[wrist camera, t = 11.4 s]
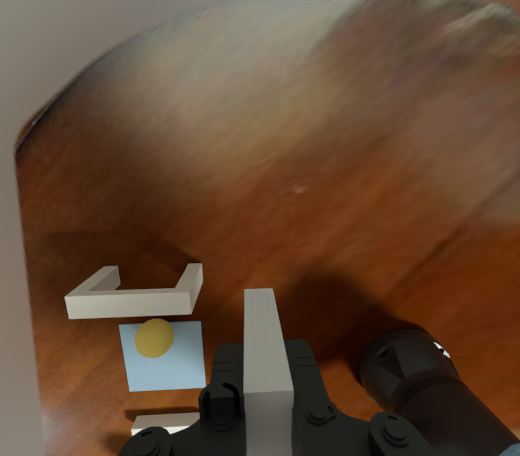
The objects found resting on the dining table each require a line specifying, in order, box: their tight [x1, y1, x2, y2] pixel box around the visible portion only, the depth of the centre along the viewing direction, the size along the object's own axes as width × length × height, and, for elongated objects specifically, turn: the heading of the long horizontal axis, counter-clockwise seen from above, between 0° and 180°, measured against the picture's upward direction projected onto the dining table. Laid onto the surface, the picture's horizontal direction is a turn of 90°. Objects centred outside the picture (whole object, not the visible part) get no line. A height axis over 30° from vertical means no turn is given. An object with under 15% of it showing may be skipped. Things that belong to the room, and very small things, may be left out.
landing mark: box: [119, 321, 206, 391], centre depth 45 cm, size 13×13×1 cm
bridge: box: [65, 263, 203, 319], centre depth 37 cm, size 3×15×9 cm, turn 91°
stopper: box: [131, 412, 200, 436], centre depth 47 cm, size 2×12×2 cm, turn 91°
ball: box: [135, 318, 174, 358], centre depth 41 cm, size 6×6×6 cm
